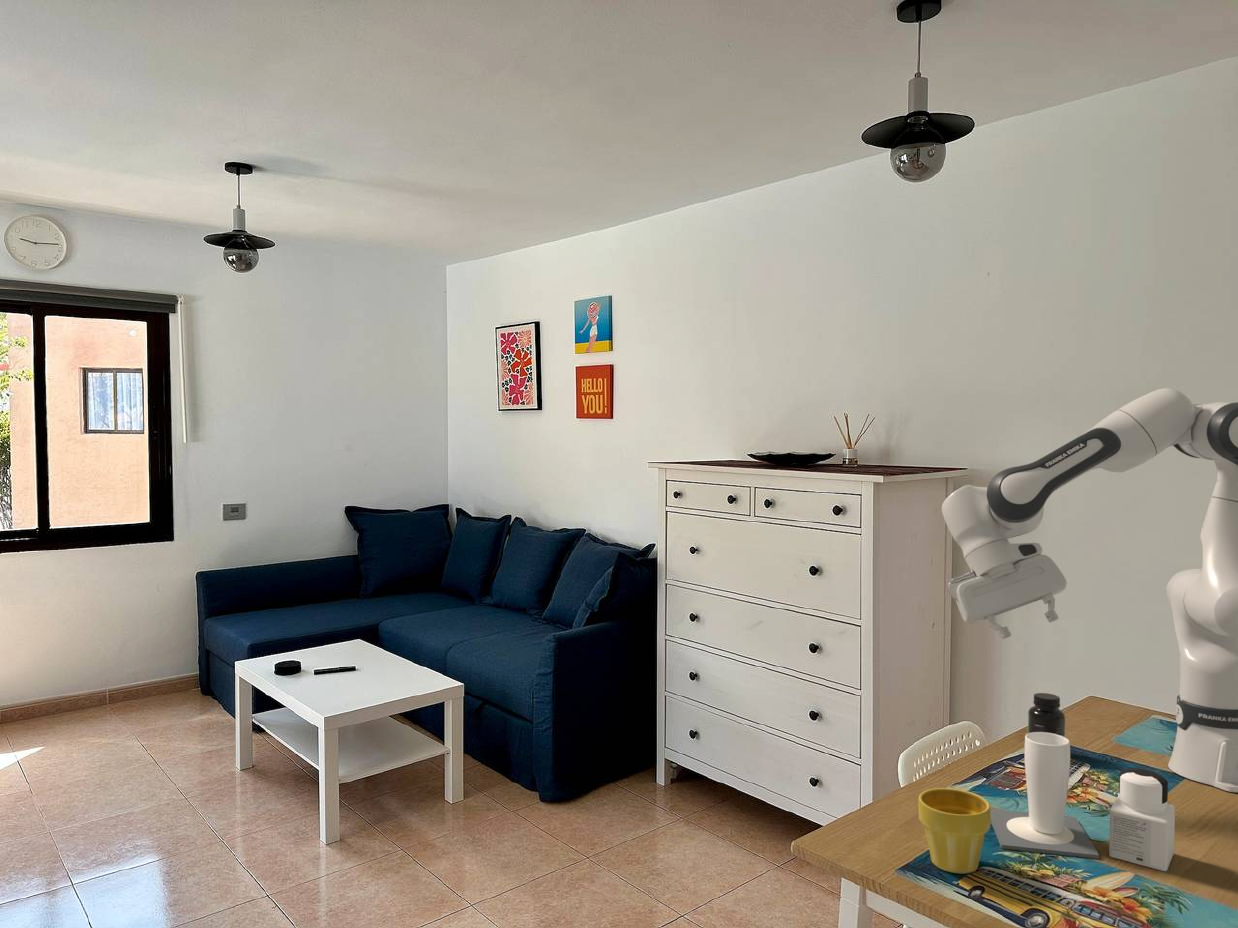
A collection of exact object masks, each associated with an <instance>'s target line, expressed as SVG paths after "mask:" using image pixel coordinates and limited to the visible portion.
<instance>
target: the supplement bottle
mask: <svg viewBox="0 0 1238 928" xmlns="http://www.w3.org/2000/svg"><path fill="white" fill-rule="evenodd" d="M1060 707H1061V697H1060V696H1059V695H1056V694H1052V693H1048V692H1038V693H1034V694H1033V706H1031V707H1030V708H1029V709H1028V712H1027V734H1028V733H1032V732H1046V733H1053V734H1057V735H1060V736H1063V737H1065V738H1066V716H1065V715H1066V714H1065V713H1064V712H1063V710H1061V709H1060Z"/></svg>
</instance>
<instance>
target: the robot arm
mask: <svg viewBox="0 0 1238 928" xmlns="http://www.w3.org/2000/svg"><path fill="white" fill-rule="evenodd" d="M1172 446H1173V447H1174V448H1175V449H1176V450H1178V452H1181V453H1182V454H1184V455H1186V456H1188V457H1189V458H1190V457H1191V458H1195V459H1203V460H1207V461H1214V464H1215V466H1216V474H1217V475H1216V483H1215V485H1214V488H1213V491H1212V494H1211V497H1210V501H1209V504H1208V507H1207V510H1206V513H1205V517H1204V520H1203V524H1202V527H1201V531H1200V534H1199V538H1200V543H1201V546H1202V560H1201V561H1202V562H1201V567H1200V568H1189V569H1184V570H1181V571H1178V572H1177V573H1175V574H1174V575H1173V576H1172V577H1171V578H1170V579H1169V581H1168V583H1167V585H1166V591H1165V592H1166V597H1167V601H1168V604H1169V605H1170V608H1171V613H1172V618H1173V624H1174V630H1175V636H1176V641H1177V645H1178V652H1179V653H1178V654H1179V694H1178V695H1177V696H1176V704H1175V720H1176V723H1175V724H1176V725H1177V729H1176V736H1175V741H1174V746H1173V749H1172V753H1171V756H1170V759H1169V761H1168V764H1167V766H1168V768H1169V769H1170V770H1171V771H1172V772H1174V773H1176V774H1177V775H1179V776H1181V777H1184V778H1186V779H1189V780H1191V781H1195V782H1198V783H1201V784H1205V785H1209V786H1212V787H1215V788H1218V789H1220V790H1223V791H1227V792H1229V793H1238V401H1237V402H1230V401H1215V402H1214V401H1213V402H1212V403H1205V404H1204V403H1202V404H1194V403H1193V402H1192V401H1191V399H1190V398H1189V397H1188V396H1187V395H1186V394H1184V393H1183V392H1181V391H1179V390H1177V389H1174V388H1171V387H1163V388H1158V389H1156V390H1153V391H1151V392H1148V393H1146V394H1144V395H1142V396H1140V397H1138V398H1136V399H1133V400H1132V401H1130V402H1128V403H1126V404H1124V405H1123V406H1121V407H1119V408H1118V409H1116V410H1115V411H1113V412H1111V413H1110V414H1108V415H1107V416H1106V417H1104V418H1103V419H1101V420H1100V421H1098V422H1097V423H1096V424H1094V425H1093V426H1092V427H1091V428H1089V429H1088V430H1086V431H1085V432H1083V433H1082V434H1081V435H1080V436H1078V437H1076V438H1074V439H1072V440H1070V441H1069V442H1067V443H1066V444H1064V445H1062V446H1060V447H1058V448H1057V449H1056V448H1055V450H1053V451H1052V452H1050V453H1048V454H1046V455H1044V456H1043V457H1041V458H1039V459H1037V460H1035V461H1032V462H1030V463H1027V464H1024V465H1019V466H1013V467H1009V468H1006V469H1002V470H1001V471H999V472H997V473H996V475H994V476H993V477H992V479H991V480H990V481H989V483H988V486H987V487H985V486H975V485H972V484H965V485H961V486H960V487H957V488H956V489H954V490H953V491H952V492H950V493H949V494H948V495H947V496H946V497H945V499H944V500H943V502H942V505H941V513H942V516H943V519H944V522H945V524H946V526H947V528H948V531H949V533H950V535H951V536H952V539H953V540H954V542H956V543H957V544H958V546H959V547H960V549H961V552H962V554H963V558H964V560H965V562H966V564H967V565H968V568H969V569H970V571H968V572H965V573H963V574H961V575H959V576H954V577H953V578H951V579H950V581H949V582H948V584H947V590H948V592H949V594H950V596H951V598H952V599H953V600H955V602H956V605H957V608H958V611H959V613H960V616H961V618H962V620H963V621H964V622H965V623H967V624H969V625H973V624H976V623H979V622H983V621H985V624H986V625H987V626H988V627H989V628H990V629H993V630H994V631H996V632H997V633H998V635H999V637H1000V639H1001V640H1005V639H1007V638H1010V637H1011V636H1012V633H1011V631H1010V630H1009V627H1008V625H1007V626H1001V625H1000V624H999V623H997V622H996V621H997V618H996V617H997V616H998V615H999V616H1000V615H1001V614H1004V613H1007V612H1009V611H1013V610H1016V609H1019V608H1021V607H1024V606H1027V605H1030V604H1032V603H1036V602H1038V601H1042V602H1043V603H1044V605H1047V611H1046V612H1045V613H1044V614H1043V615H1044V617H1045V618H1046V620H1047V622H1048V623H1052V622H1055V621H1057V620H1058V619H1059V615H1058V614H1057V611H1055V607H1056V604H1055V601H1056V598H1055V596H1054V595H1057V594H1060V593H1062V592H1063V591H1064V590H1065V589H1066V588H1067V585H1068V584H1067V583H1068V582H1067V578H1066V577H1065V575H1064V574H1063V572H1062V571H1061V569H1060V568H1059V566H1058V565H1057V564H1056V563H1055V561H1054V560H1053V559H1052V558H1051V557H1050V556H1049V555H1046V554H1042V553H1043V548H1042V545H1041V544H1039V543H1037V542H1027V543H1025V542H1024V543H1010V540H1009V539H1011V538H1016V537H1020V536H1023V535H1027V534H1029V533H1031V532H1033V531H1035V530H1036V529H1037V528H1038V527H1039V525H1040V524H1041V522H1042V521H1043V517H1044V512H1045V508H1044V507H1045V504H1046V502H1047V500H1048V499H1049V498H1050V496H1051V495H1052V494H1053V493H1054V492H1055V491H1057V490H1059V489H1060V488H1062V487H1063V486H1066V485H1067V484H1069V483H1071V482H1073V481H1074V480H1076V479H1078V478H1079V477H1081V476H1083V475H1084V474H1086V473H1088V472H1091V471H1093V470H1097V469H1103V470H1105V471H1107V472H1111V473H1125V472H1127V471H1129V470H1132V469H1134V468H1137V467H1139V466H1141V465H1142V464H1144V463H1146V462H1147V461H1149V460H1151V459H1152V458H1154V457H1156V456H1158V455H1159V454H1160V453H1162V452H1163V451H1165V450H1166V449H1168V448H1170V447H1172Z"/></svg>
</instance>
